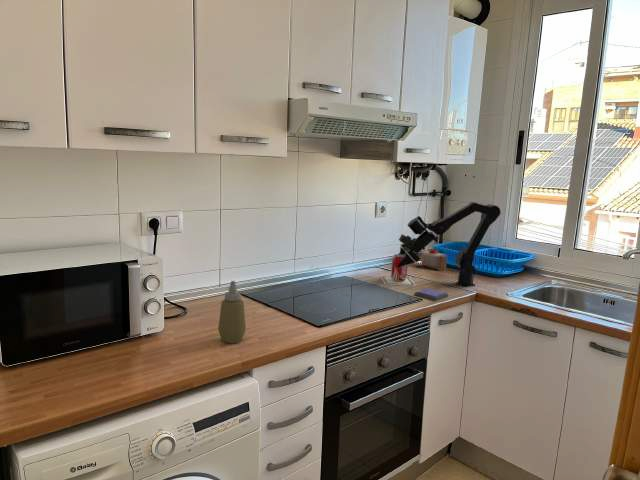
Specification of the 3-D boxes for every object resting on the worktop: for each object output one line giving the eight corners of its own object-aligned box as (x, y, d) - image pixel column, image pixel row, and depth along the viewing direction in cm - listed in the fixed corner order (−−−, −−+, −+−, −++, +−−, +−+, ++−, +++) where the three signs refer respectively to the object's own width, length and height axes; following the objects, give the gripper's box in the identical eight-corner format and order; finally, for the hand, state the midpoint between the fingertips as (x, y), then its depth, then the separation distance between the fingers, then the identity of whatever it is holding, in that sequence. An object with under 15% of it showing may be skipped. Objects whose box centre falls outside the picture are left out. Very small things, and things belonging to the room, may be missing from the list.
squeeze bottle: (212, 339, 139) (213, 280, 136) (235, 333, 145) (236, 276, 142) (228, 348, 133) (229, 286, 130) (251, 341, 139) (252, 282, 136)
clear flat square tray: (409, 278, 225) (409, 277, 225) (415, 286, 212) (415, 285, 211) (380, 277, 225) (380, 276, 225) (384, 284, 211) (384, 283, 211)
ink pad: (427, 291, 204) (427, 287, 204) (448, 296, 197) (448, 293, 197) (414, 295, 197) (414, 291, 197) (435, 300, 190) (436, 297, 190)
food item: (418, 265, 255) (419, 248, 253) (427, 264, 259) (429, 247, 258) (438, 271, 244) (439, 252, 242) (447, 269, 249) (449, 251, 247)
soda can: (396, 283, 214) (398, 257, 212) (387, 279, 220) (389, 254, 218) (409, 282, 217) (411, 256, 215) (400, 278, 223) (402, 253, 221)
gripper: (406, 226, 223) (381, 247, 225) (414, 232, 205) (387, 255, 207) (421, 243, 225) (396, 264, 227) (431, 250, 206) (404, 273, 208)
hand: (396, 264), depth 217 cm, fingers open, 9 cm apart
